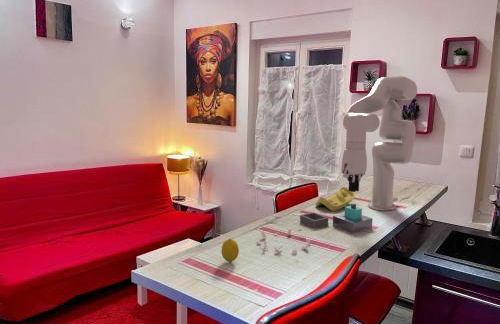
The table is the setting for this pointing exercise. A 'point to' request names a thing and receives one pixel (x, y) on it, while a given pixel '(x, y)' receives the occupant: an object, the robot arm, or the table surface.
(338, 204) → the plastic component
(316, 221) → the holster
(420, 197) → the table surface
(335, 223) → the port
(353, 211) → the plug
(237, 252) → the lemon
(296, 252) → the game piece set
